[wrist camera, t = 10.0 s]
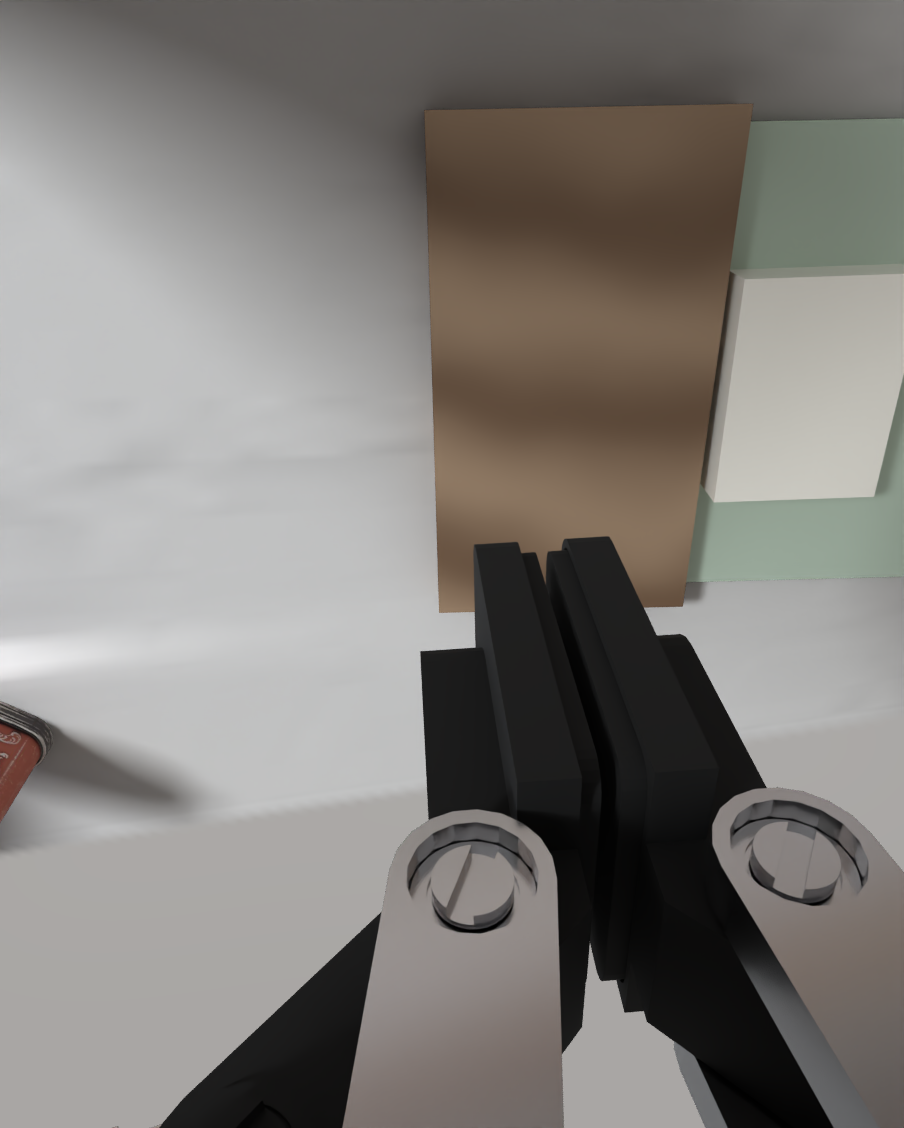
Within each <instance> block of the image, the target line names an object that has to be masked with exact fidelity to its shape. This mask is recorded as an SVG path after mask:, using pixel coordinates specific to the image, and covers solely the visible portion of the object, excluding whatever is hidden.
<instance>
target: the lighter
mask: <svg viewBox="0 0 904 1128" xmlns="http://www.w3.org/2000/svg"><path fill="white" fill-rule="evenodd" d="M52 743H53V735H52V733H51V730H50V728H49V727H48V726H47V724H46V723H45V722H44V721H42V720H41V719H39V718H37V717H35V716H33V715H31V714H29V713H26V712H24V711H22V710H19V709H17V708H15V707H13V706H10V705H8V704H6V703H3V702H0V822H1V821H2V819H3V817H4V816H5V814H6V813H7V811H8V809H9V808H10V806H11V804H12V803H13V801H14V799H15V798H16V796H17V794H18V793H19V791H20V789H21V788H22V786H23V784H24V783H25V781H26V780H27V778H28V776H29V775H30V773H31V771H32V770H33V768H34V767H36V766H38V765H39V764H40V763H41V762H42V761H43V759H44V757H45V756H46V754H47V752H48V751H49V749H50V747H51V745H52Z"/></svg>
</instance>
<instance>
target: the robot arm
mask: <svg viewBox="0 0 904 1128" xmlns="http://www.w3.org/2000/svg"><path fill="white" fill-rule="evenodd" d="M473 562H474V601H475V641H476V648H465V649H450V650H435V651H420V653H421V675H422V695H423V715H424V735H425V755H426V776H427V796H428V813H429V814H428V815H429V820H428V821H427V822H425V823H424V824H422V825H421V826H420V827H418V828H416V829H415V830H413V831H412V832H411V833H410V834H409V835H408V836H407V838H406V839H405V840H404V841H403V843H402V844H401V845H400V846H399V847H398V849H397V851H396V854H395V856H394V859H393V861H392V864H391V867H390V869H389V874H388V879H387V885H386V891H385V896H384V902H383V907H382V912H381V913H380V914H379V915H378V916H377V917H376V918H375V919H373V920H372V921H371V922H370V923H369V924H368V925H367V926H366V927H365V928H364V929H363V930H362V931H361V932H360V933H359V934H357V935H356V936H355V938H353V939H352V940H351V941H350V942H349V943H348V944H347V945H346V946H345V947H344V948H343V949H342V950H341V951H339V952H338V953H337V954H336V955H335V956H334V957H333V958H332V959H331V960H330V961H329V962H328V963H327V964H326V965H325V966H324V967H323V968H322V969H321V970H319V971H318V972H317V973H316V974H315V975H314V976H313V977H312V978H311V979H310V980H309V981H308V982H307V983H306V984H304V985H303V986H302V987H301V988H300V989H299V990H298V991H297V992H296V993H295V994H294V995H293V996H292V997H291V998H290V999H289V1000H288V1001H287V1002H285V1003H284V1004H283V1005H282V1006H281V1007H280V1008H279V1009H278V1010H277V1011H276V1012H275V1013H274V1014H273V1015H272V1016H271V1017H270V1018H268V1020H266V1021H265V1022H264V1023H263V1024H262V1025H261V1026H260V1027H259V1028H258V1029H257V1030H256V1031H255V1032H254V1033H252V1034H251V1036H249V1037H248V1038H247V1039H246V1040H245V1041H244V1042H243V1043H242V1044H241V1045H240V1046H239V1047H238V1048H237V1049H236V1050H234V1051H233V1052H232V1053H231V1054H230V1055H229V1056H228V1057H227V1058H226V1059H225V1060H224V1061H223V1062H222V1063H221V1064H220V1065H219V1066H217V1067H216V1069H214V1070H213V1071H212V1073H210V1074H209V1075H208V1076H207V1077H206V1078H205V1079H204V1080H203V1081H202V1082H201V1083H199V1084H198V1085H197V1086H196V1087H195V1088H194V1089H193V1090H192V1091H191V1092H190V1093H189V1094H188V1095H187V1096H186V1097H185V1098H184V1099H183V1100H182V1101H181V1102H180V1103H179V1104H178V1106H177V1107H176V1108H175V1109H174V1110H173V1112H172V1113H171V1114H170V1115H169V1116H168V1117H167V1119H166V1120H165V1121H164V1122H163V1124H160V1125H157V1126H154V1127H151V1128H564V1116H563V1079H562V1053H563V1052H564V1051H565V1049H566V1048H567V1046H568V1045H569V1044H570V1043H571V1041H572V1040H573V1038H574V1037H575V1036H576V1034H577V1033H578V1031H579V1030H580V1029H581V1027H582V1020H583V1008H584V995H585V983H586V979H587V968H588V955H589V945H590V944H591V948H592V953H593V957H594V961H595V965H596V970H597V973H598V976H599V978H600V980H601V981H609V980H617V984H618V988H619V992H620V996H621V1000H622V1004H623V1008H624V1012H637V1011H644V1013H645V1016H646V1020H647V1022H648V1023H650V1024H651V1025H652V1026H654V1027H655V1028H657V1029H658V1030H659V1031H661V1032H662V1033H664V1034H665V1035H666V1036H668V1037H669V1038H670V1039H672V1040H673V1041H674V1050H675V1053H676V1057H677V1061H678V1064H679V1067H680V1071H681V1073H682V1075H683V1078H684V1080H685V1082H686V1084H687V1087H688V1089H689V1091H690V1094H691V1096H692V1098H693V1100H694V1103H695V1105H696V1107H697V1110H698V1112H699V1114H700V1116H701V1119H702V1121H703V1123H704V1125H705V1127H706V1128H904V872H903V871H902V869H901V868H900V867H899V866H898V865H897V863H896V862H895V861H894V860H893V859H892V857H891V856H890V855H889V854H888V853H887V851H886V850H885V849H884V848H883V847H882V845H881V844H880V843H879V842H878V841H877V839H876V838H875V837H874V836H873V835H872V833H870V831H868V830H867V829H866V828H865V827H864V826H863V825H862V824H861V823H860V822H859V821H858V820H857V819H856V818H855V817H853V815H851V814H850V813H848V812H846V811H844V810H843V809H841V808H840V807H838V806H836V805H835V804H833V803H832V802H830V801H828V800H825V799H823V798H820V797H817V796H814V795H812V794H809V793H806V792H804V791H797V790H791V789H784V788H778V787H777V788H766V786H765V784H764V782H763V780H762V778H761V776H760V774H759V772H758V771H757V769H756V767H755V765H754V763H753V761H752V759H751V757H750V755H749V753H748V752H747V750H746V748H745V746H744V744H743V742H742V740H741V738H740V736H739V734H738V732H737V731H736V729H735V727H734V725H733V723H732V721H731V719H730V717H729V715H728V713H727V712H726V710H725V708H724V706H723V704H722V702H721V700H720V698H719V696H718V694H717V693H716V691H715V689H714V687H713V685H712V683H711V681H710V679H709V677H708V675H707V674H706V672H705V670H704V668H703V666H702V664H701V662H700V660H699V658H698V656H697V655H696V653H695V651H694V649H693V647H692V645H691V643H690V642H689V641H688V639H687V638H686V637H685V636H683V635H681V634H676V635H661V636H657V635H656V633H655V631H654V629H653V627H652V625H651V622H650V620H649V618H648V616H647V614H646V612H645V610H644V608H643V605H642V603H641V601H640V599H639V597H638V595H637V593H636V591H635V589H634V586H633V584H632V582H631V580H630V578H629V576H628V574H627V572H626V570H625V567H624V565H623V563H622V561H621V559H620V557H619V555H618V553H617V550H616V548H615V546H614V544H613V542H612V540H611V539H610V537H609V536H602V537H586V538H570V539H564V541H563V543H562V550H560V551H548V553H547V560H546V584H545V581H544V577H543V574H542V571H541V567H540V564H539V561H538V557H537V554H536V552H528V553H521V550H520V546H519V544H518V542H505V543H489V544H474V550H473ZM113 1128H119V1127H118V1126H116V1127H113Z"/></svg>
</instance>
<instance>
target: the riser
mask: <svg viewBox="0 0 904 1128" xmlns="http://www.w3.org/2000/svg"><path fill="white" fill-rule="evenodd" d="M752 110H753V104H710V105H660V106H610V107H560V108H510V109H459V110H424V117H425V150H426V184H427V218H428V252H429V285H430V319H431V353H432V387H433V420H434V454H435V488H436V522H437V556H438V589H439V613H448V612H475V601H474V562H473V550H474V544H489V543H505V542H518V544H519V546H520V550H521V553H528V552H536V554H537V557H538V561H539V564H540V567H541V571H542V574H543V577H544V581H545V584H546V560H547V553H548V551H560V550H562V543H563V541H564V539H570V538H586V537H602V536H609V537H610V539H611V540H612V542H613V544H614V546H615V548H616V550H617V553H618V555H619V557H620V559H621V561H622V563H623V565H624V567H625V570H626V572H627V574H628V576H629V578H630V580H631V582H632V584H633V586H634V589H635V591H636V593H637V595H638V597H639V599H640V601H641V603H642V605H643V607H682V606H683V601H684V594H685V587H686V579H687V572H688V565H689V558H690V551H691V544H692V537H693V530H694V523H695V515H696V508H697V501H698V494H699V487H700V480H701V473H702V466H703V458H704V451H705V444H706V437H707V430H708V423H709V416H710V409H711V402H712V394H713V387H714V380H715V373H716V366H717V359H718V352H719V345H720V338H721V330H722V323H723V316H724V309H725V302H726V295H727V288H728V281H729V274H730V266H731V259H732V252H733V245H734V238H735V231H736V224H737V217H738V209H739V202H740V195H741V188H742V181H743V174H744V167H745V160H746V153H747V145H748V138H749V131H750V124H751V117H752Z"/></svg>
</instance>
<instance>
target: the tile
mask: <svg viewBox="0 0 904 1128" xmlns="http://www.w3.org/2000/svg"><path fill="white" fill-rule="evenodd" d="M903 375H904V265H903V264H880V265H851V266H822V267H793V268H764V269H735V270H730V274H729V281H728V288H727V295H726V302H725V309H724V316H723V323H722V330H721V338H720V345H719V352H718V359H717V366H716V373H715V380H714V387H713V394H712V402H711V409H710V416H709V423H708V430H707V437H706V444H705V451H704V458H703V466H702V473H701V480H700V484H701V485H702V487H703V488H704V489H705V491H706V492H707V494H708V495H709V496H710V498H711V499H712V501H713V502H742V501H770V500H798V499H826V498H854V497H874V495H875V491H876V487H877V483H878V479H879V474H880V470H881V466H882V462H883V458H884V454H885V450H886V445H887V441H888V437H889V433H890V429H891V425H892V421H893V416H894V412H895V408H896V404H897V400H898V396H899V392H900V387H901V383H902V379H903Z"/></svg>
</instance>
